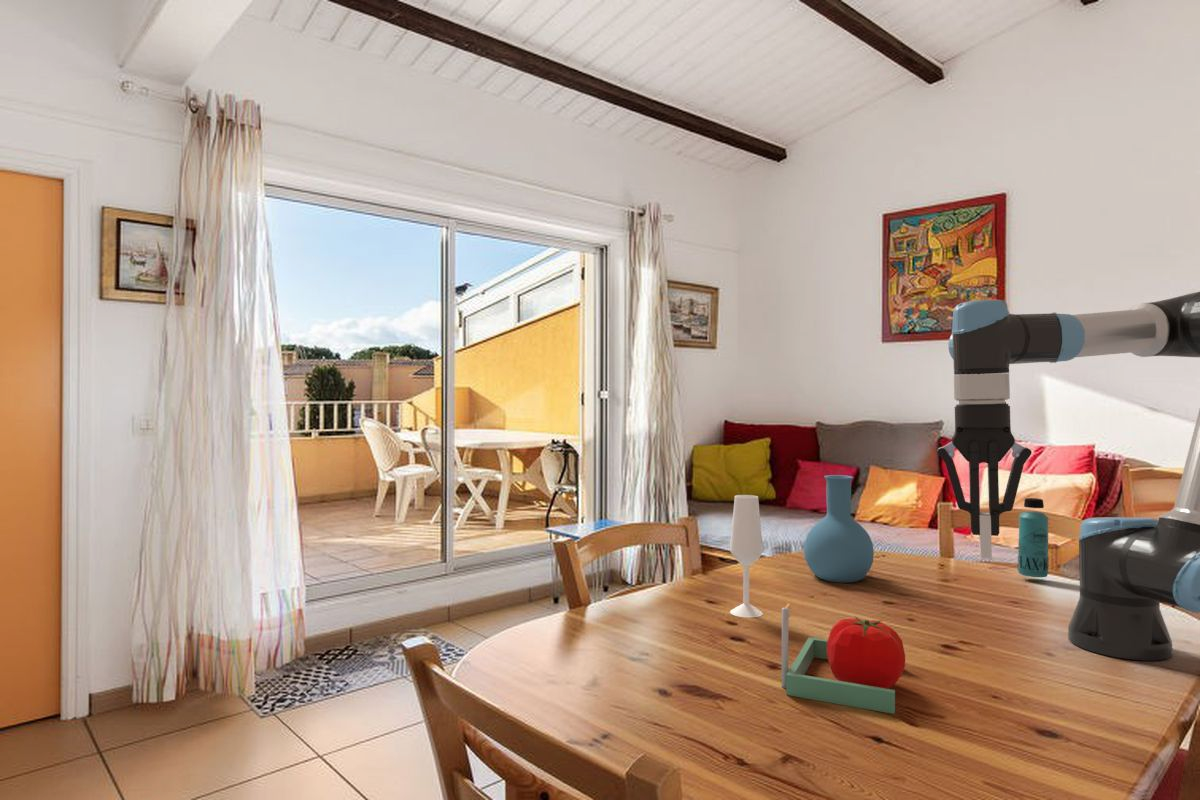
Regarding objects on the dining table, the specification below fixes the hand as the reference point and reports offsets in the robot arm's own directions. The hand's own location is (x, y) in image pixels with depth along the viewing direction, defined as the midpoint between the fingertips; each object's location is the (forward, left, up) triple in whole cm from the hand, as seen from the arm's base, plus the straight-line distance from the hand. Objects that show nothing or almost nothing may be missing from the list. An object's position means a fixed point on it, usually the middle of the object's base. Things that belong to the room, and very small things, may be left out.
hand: (985, 556), depth 111 cm
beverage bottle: (-13, -79, -20) cm, 83 cm away
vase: (+30, -61, -20) cm, 71 cm away
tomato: (+17, +7, -20) cm, 27 cm away
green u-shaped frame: (+20, +7, -20) cm, 29 cm away
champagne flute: (+43, -22, -20) cm, 52 cm away
